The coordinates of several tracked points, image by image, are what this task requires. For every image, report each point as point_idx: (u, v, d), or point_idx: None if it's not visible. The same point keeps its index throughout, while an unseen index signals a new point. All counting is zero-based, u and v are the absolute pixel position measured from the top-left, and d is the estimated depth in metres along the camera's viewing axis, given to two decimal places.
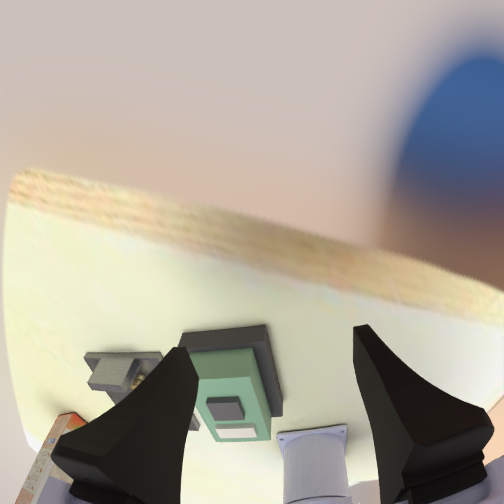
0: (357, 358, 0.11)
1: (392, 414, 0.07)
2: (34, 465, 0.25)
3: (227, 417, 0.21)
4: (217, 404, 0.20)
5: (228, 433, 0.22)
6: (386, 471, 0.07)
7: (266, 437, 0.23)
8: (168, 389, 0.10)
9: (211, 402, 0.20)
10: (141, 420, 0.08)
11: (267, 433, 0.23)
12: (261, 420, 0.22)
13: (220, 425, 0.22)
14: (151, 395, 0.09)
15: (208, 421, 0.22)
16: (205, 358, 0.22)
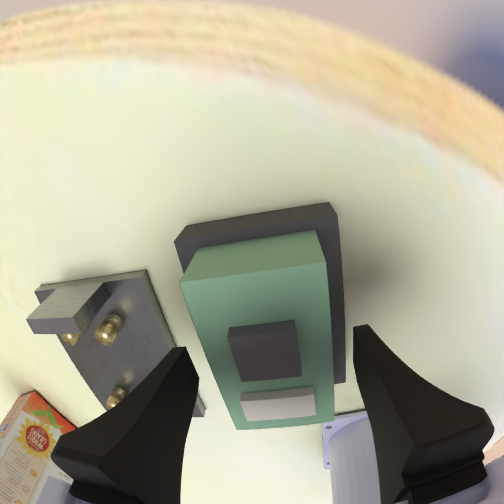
0: (357, 358, 0.11)
1: (392, 414, 0.07)
2: None
3: (268, 371, 0.11)
4: (251, 338, 0.11)
5: (264, 409, 0.12)
6: (386, 471, 0.07)
7: (328, 416, 0.13)
8: (168, 389, 0.10)
9: (239, 334, 0.11)
10: (141, 420, 0.08)
11: (332, 407, 0.13)
12: (328, 379, 0.12)
13: (249, 394, 0.12)
14: (151, 395, 0.09)
15: (226, 387, 0.13)
16: (227, 250, 0.12)
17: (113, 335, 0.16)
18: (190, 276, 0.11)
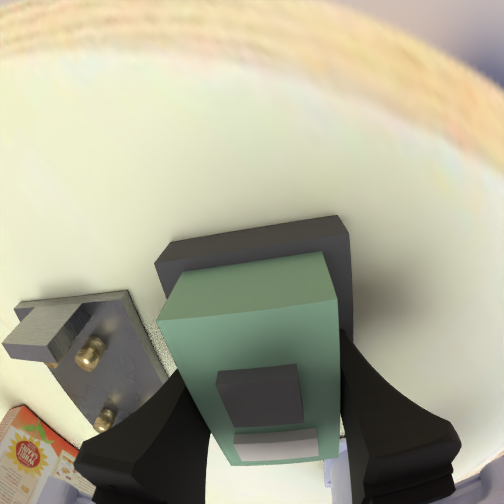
0: None
1: (356, 422, 0.07)
2: None
3: (265, 418, 0.09)
4: (245, 386, 0.08)
5: (260, 451, 0.10)
6: (354, 478, 0.07)
7: (332, 453, 0.11)
8: None
9: (229, 381, 0.08)
10: (169, 422, 0.08)
11: (337, 446, 0.11)
12: (334, 421, 0.10)
13: (244, 436, 0.10)
14: (178, 396, 0.09)
15: (218, 428, 0.10)
16: (216, 277, 0.10)
17: (94, 361, 0.13)
18: (169, 312, 0.09)
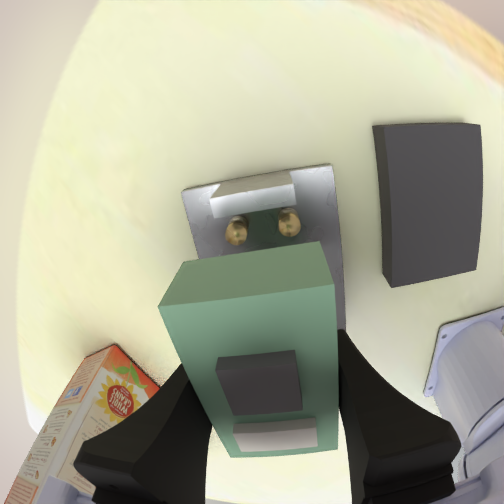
0: None
1: (356, 422, 0.07)
2: (41, 436, 0.16)
3: (264, 406, 0.09)
4: (244, 372, 0.09)
5: (259, 441, 0.10)
6: (354, 478, 0.07)
7: (331, 444, 0.11)
8: (193, 389, 0.10)
9: (229, 367, 0.09)
10: (170, 422, 0.08)
11: (336, 436, 0.11)
12: (333, 410, 0.10)
13: (243, 425, 0.11)
14: (178, 396, 0.09)
15: (218, 417, 0.11)
16: (216, 265, 0.10)
17: (300, 224, 0.17)
18: (171, 299, 0.09)
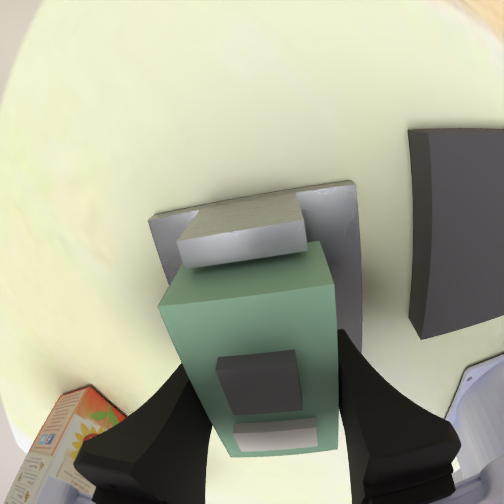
0: None
1: (356, 422, 0.07)
2: (16, 483, 0.11)
3: (264, 405, 0.09)
4: (244, 371, 0.09)
5: (259, 441, 0.10)
6: (354, 478, 0.07)
7: (331, 444, 0.11)
8: (193, 389, 0.10)
9: (229, 367, 0.09)
10: (169, 422, 0.08)
11: (336, 436, 0.11)
12: (333, 409, 0.10)
13: (243, 425, 0.11)
14: (178, 396, 0.09)
15: (218, 417, 0.11)
16: (216, 265, 0.10)
17: None
18: (171, 298, 0.09)
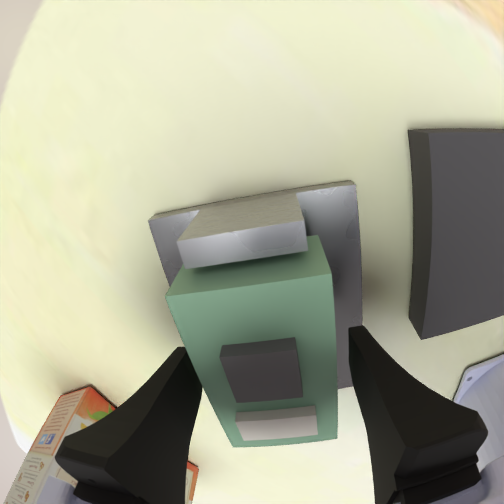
0: (352, 359, 0.11)
1: (385, 416, 0.07)
2: (16, 483, 0.11)
3: (266, 393, 0.10)
4: (247, 358, 0.09)
5: (261, 429, 0.11)
6: (380, 472, 0.07)
7: (331, 434, 0.12)
8: (173, 389, 0.10)
9: (232, 354, 0.09)
10: (146, 421, 0.08)
11: (335, 425, 0.12)
12: (332, 398, 0.11)
13: (245, 414, 0.11)
14: (156, 395, 0.09)
15: (221, 406, 0.11)
16: None
17: None
18: (177, 289, 0.09)
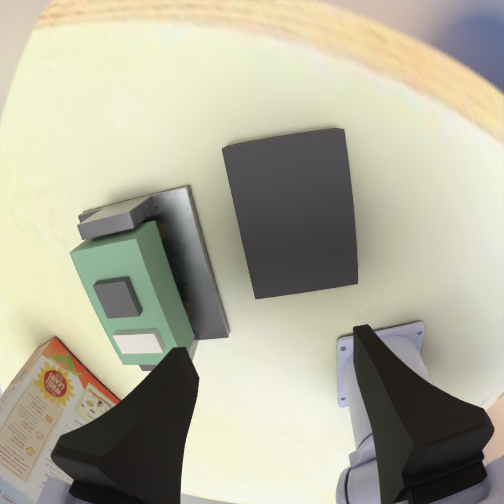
0: (357, 358, 0.11)
1: (392, 414, 0.07)
2: None
3: (119, 311, 0.17)
4: (104, 286, 0.16)
5: (128, 343, 0.18)
6: (386, 471, 0.07)
7: None
8: (168, 389, 0.10)
9: (98, 284, 0.16)
10: (141, 420, 0.08)
11: None
12: (164, 323, 0.18)
13: (119, 331, 0.18)
14: (151, 395, 0.09)
15: (106, 325, 0.18)
16: (103, 235, 0.18)
17: None
18: (76, 249, 0.17)
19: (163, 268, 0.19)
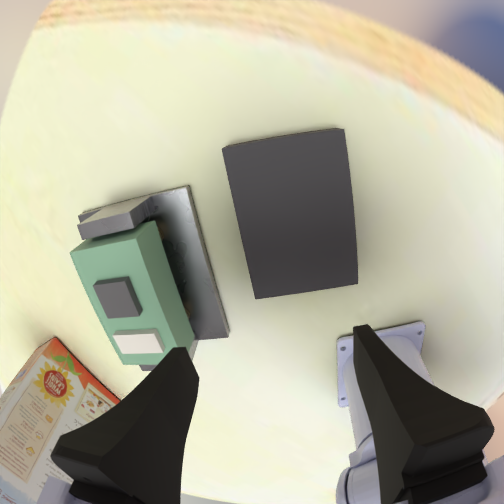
0: (357, 358, 0.11)
1: (392, 414, 0.07)
2: None
3: (119, 311, 0.17)
4: (104, 286, 0.16)
5: (128, 343, 0.18)
6: (386, 471, 0.07)
7: None
8: (168, 389, 0.10)
9: (98, 284, 0.16)
10: (141, 420, 0.08)
11: None
12: (164, 323, 0.18)
13: (119, 331, 0.18)
14: (151, 395, 0.09)
15: (106, 325, 0.18)
16: (103, 235, 0.18)
17: None
18: (76, 249, 0.17)
19: (163, 268, 0.19)
